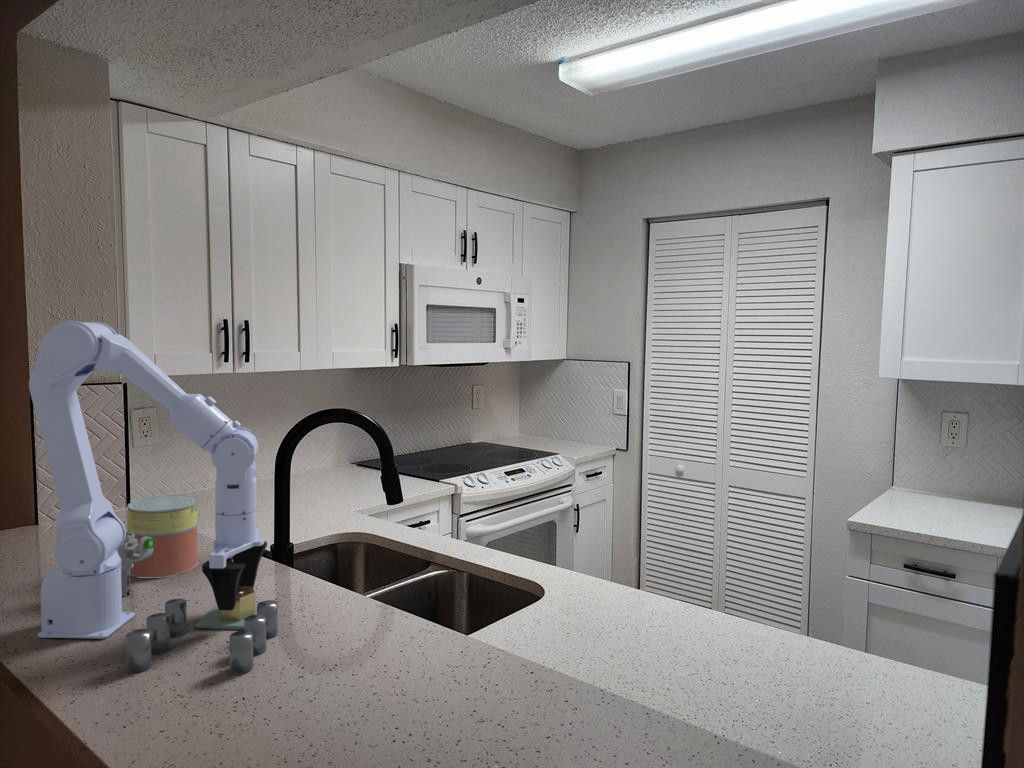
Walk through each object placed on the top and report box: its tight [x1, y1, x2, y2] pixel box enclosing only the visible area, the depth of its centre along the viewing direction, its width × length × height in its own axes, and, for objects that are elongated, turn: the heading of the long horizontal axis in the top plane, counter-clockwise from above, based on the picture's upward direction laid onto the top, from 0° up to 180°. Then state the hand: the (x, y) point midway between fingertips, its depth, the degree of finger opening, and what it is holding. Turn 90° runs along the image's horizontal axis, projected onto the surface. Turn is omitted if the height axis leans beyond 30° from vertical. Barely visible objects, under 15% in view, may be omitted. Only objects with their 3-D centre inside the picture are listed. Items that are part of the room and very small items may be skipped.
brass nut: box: [219, 586, 256, 621], centre depth 102 cm, size 5×5×4 cm
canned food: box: [126, 494, 199, 578], centre depth 122 cm, size 11×11×12 cm
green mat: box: [194, 605, 257, 630], centre depth 102 cm, size 9×7×1 cm
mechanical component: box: [117, 531, 155, 597], centre depth 110 cm, size 3×10×10 cm, turn 78°
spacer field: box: [125, 598, 279, 675], centre depth 92 cm, size 16×13×4 cm
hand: (236, 599), depth 102 cm, fingers open, 7 cm apart
